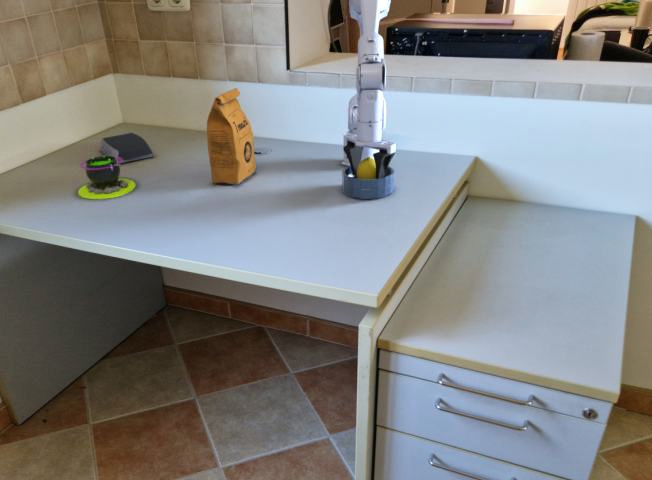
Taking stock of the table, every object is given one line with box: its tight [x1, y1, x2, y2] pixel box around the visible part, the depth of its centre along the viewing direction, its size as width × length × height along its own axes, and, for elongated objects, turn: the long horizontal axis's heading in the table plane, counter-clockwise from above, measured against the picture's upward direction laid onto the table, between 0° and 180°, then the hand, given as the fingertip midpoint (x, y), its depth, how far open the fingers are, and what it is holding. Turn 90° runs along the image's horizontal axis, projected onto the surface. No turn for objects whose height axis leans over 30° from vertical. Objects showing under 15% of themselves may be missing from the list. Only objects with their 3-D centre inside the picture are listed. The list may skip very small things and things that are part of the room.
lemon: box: [357, 157, 376, 179], centre depth 145 cm, size 6×6×8 cm
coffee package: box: [206, 87, 257, 185], centre depth 154 cm, size 10×12×22 cm
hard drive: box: [99, 132, 155, 164], centre depth 184 cm, size 13×19×4 cm
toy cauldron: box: [77, 144, 137, 200], centre depth 156 cm, size 15×15×11 cm
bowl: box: [341, 165, 395, 200], centre depth 146 cm, size 12×12×5 cm
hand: (368, 177), depth 146 cm, fingers open, 7 cm apart
